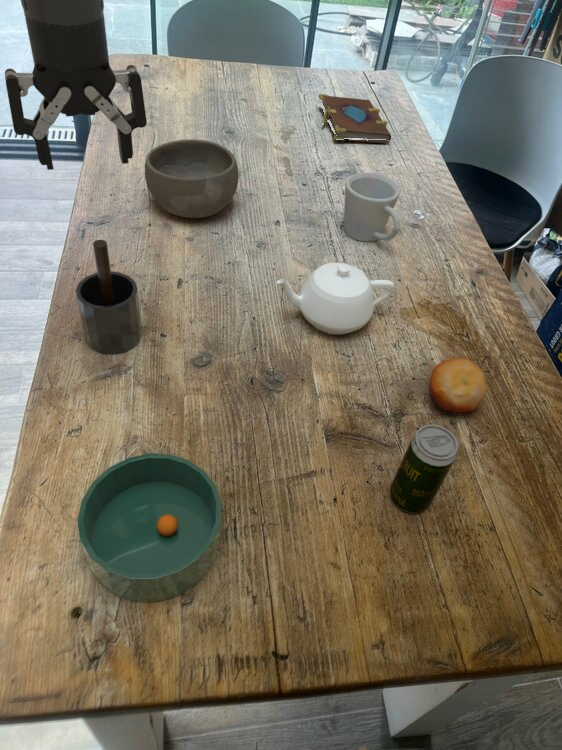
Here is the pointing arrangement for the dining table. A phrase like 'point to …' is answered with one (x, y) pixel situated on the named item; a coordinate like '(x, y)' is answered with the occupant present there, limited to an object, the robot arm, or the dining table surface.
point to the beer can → (423, 468)
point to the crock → (110, 314)
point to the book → (354, 119)
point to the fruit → (457, 385)
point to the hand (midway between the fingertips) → (87, 163)
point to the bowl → (191, 177)
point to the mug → (370, 206)
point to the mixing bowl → (150, 527)
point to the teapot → (338, 297)
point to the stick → (104, 272)
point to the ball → (167, 525)
